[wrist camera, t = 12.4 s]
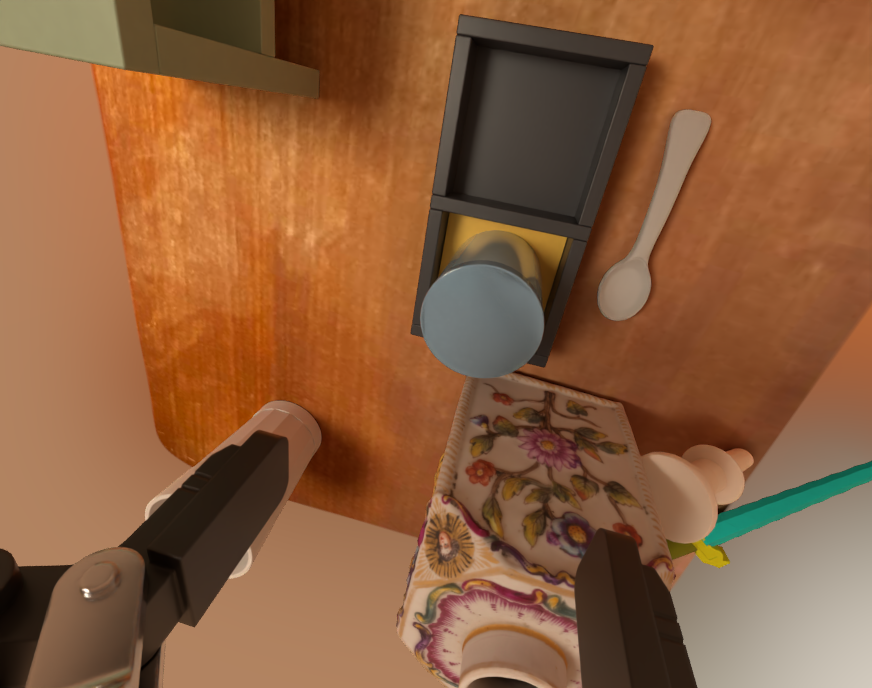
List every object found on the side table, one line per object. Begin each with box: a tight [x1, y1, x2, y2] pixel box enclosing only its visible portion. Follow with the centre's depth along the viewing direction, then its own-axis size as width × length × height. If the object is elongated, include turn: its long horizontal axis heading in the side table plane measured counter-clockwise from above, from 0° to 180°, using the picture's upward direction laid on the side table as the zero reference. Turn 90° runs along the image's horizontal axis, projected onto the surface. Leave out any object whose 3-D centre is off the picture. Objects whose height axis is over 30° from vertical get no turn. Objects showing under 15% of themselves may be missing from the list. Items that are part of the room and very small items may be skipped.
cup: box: [145, 401, 322, 579], centre depth 34 cm, size 8×8×12 cm
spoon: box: [597, 109, 711, 321], centre depth 25 cm, size 3×12×2 cm, turn 170°
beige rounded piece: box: [641, 445, 754, 544], centre depth 28 cm, size 5×5×10 cm
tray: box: [411, 14, 654, 367], centre depth 25 cm, size 17×9×3 cm, turn 170°
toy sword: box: [666, 461, 872, 568], centre depth 31 cm, size 3×6×30 cm
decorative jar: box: [397, 372, 676, 688], centre depth 26 cm, size 12×12×18 cm
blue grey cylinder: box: [420, 230, 544, 378], centre depth 24 cm, size 6×6×8 cm
